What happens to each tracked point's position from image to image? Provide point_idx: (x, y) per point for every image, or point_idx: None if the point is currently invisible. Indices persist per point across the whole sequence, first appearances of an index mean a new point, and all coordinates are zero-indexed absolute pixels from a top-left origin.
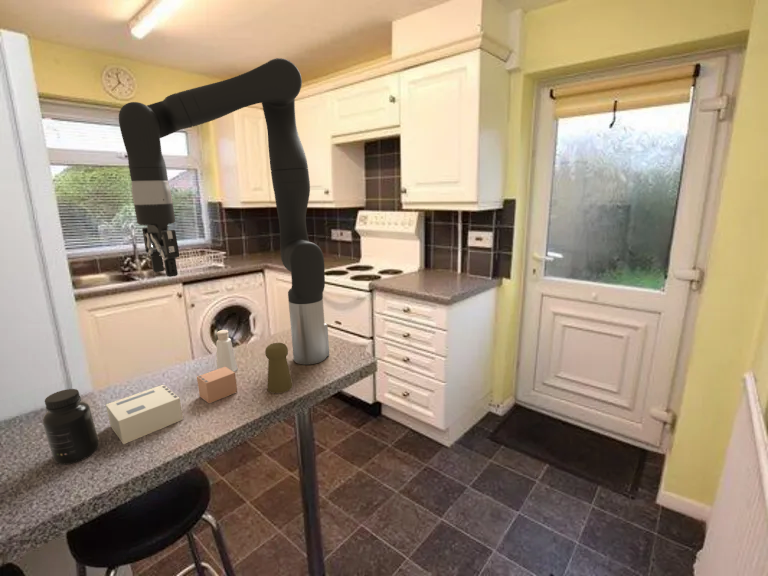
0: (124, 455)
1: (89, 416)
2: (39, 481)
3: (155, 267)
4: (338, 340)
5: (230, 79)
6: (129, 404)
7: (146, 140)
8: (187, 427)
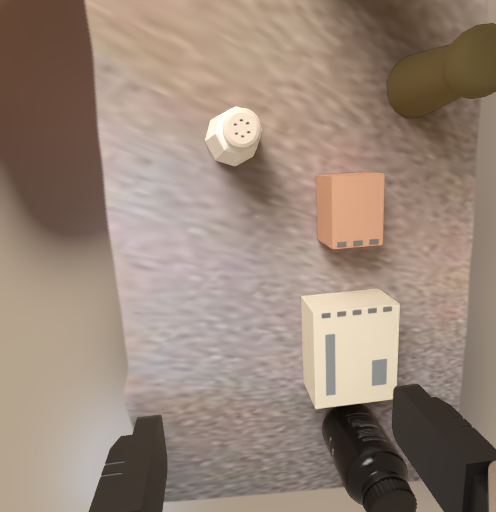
0: (406, 376)
1: (389, 444)
2: None
3: (161, 481)
4: None
5: None
6: (350, 378)
7: None
8: (407, 290)
